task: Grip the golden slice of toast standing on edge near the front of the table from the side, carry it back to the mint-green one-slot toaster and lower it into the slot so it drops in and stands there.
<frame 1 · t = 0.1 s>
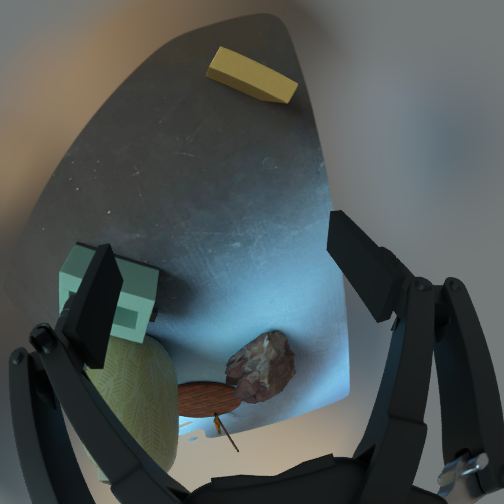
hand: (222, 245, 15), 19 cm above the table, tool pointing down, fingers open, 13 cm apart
toast: (237, 81, 26), on the table
toaster: (112, 278, 36), on the table
incense holder: (209, 405, 63), on the table
vase: (134, 351, 46), on the table
mineral specimen: (252, 348, 51), on the table
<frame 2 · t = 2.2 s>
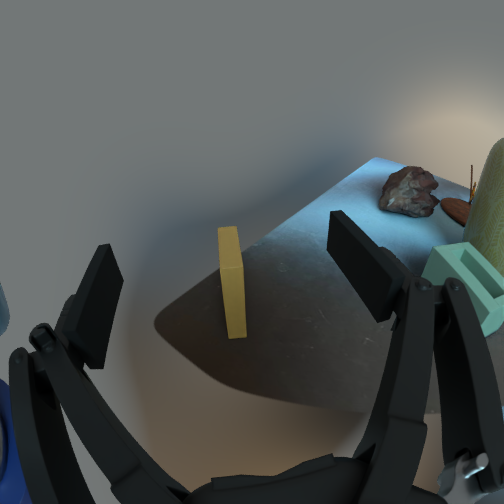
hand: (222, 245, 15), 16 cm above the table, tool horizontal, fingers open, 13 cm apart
toast: (234, 315, 32), on the table
toaster: (458, 309, 30), on the table
incense holder: (470, 211, 57), on the table
vase: (488, 268, 37), on the table
mineral specimen: (406, 214, 54), on the table
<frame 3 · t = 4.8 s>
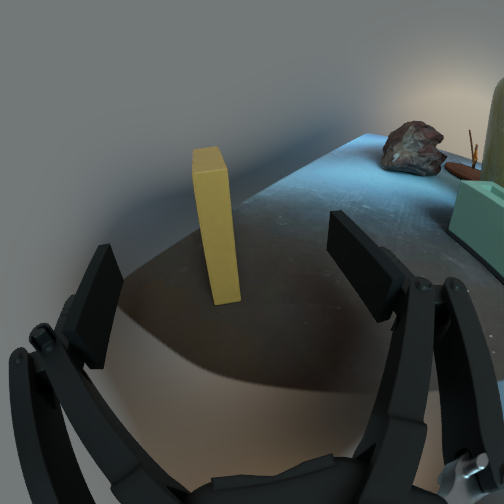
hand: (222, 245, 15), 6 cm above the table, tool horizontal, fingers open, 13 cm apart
toast: (222, 275, 23), on the table
toaster: (497, 256, 22), on the table
incense holder: (475, 175, 50), on the table
mineral specimen: (413, 173, 46), on the table
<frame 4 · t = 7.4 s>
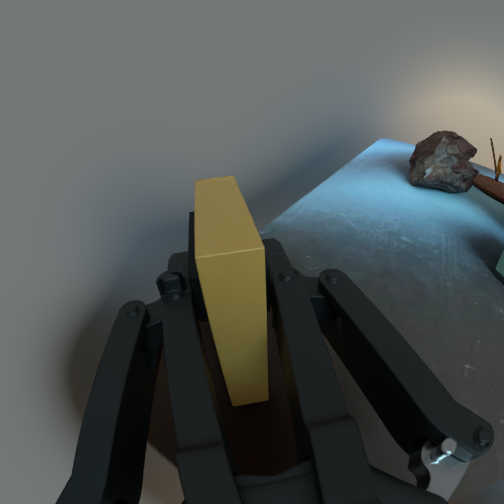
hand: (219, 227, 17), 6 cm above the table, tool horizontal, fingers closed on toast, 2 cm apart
toast: (240, 355, 16), on the table, touching gripper
incense holder: (498, 188, 43), on the table
mineral specimen: (442, 190, 39), on the table
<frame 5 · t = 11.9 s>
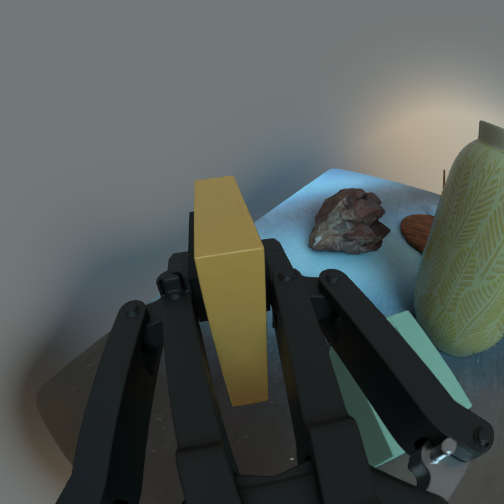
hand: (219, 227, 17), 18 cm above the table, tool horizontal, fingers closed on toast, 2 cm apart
toast: (240, 355, 16), point 12 cm above the table, touching gripper
toaster: (381, 405, 22), on the table
incense holder: (440, 231, 51), on the table
vase: (452, 322, 30), on the table
mineral specimen: (346, 249, 47), on the table
when the fingers open (9 cm above the table, at t = 16.5 s): toast drops 2 cm, resting on toaster.
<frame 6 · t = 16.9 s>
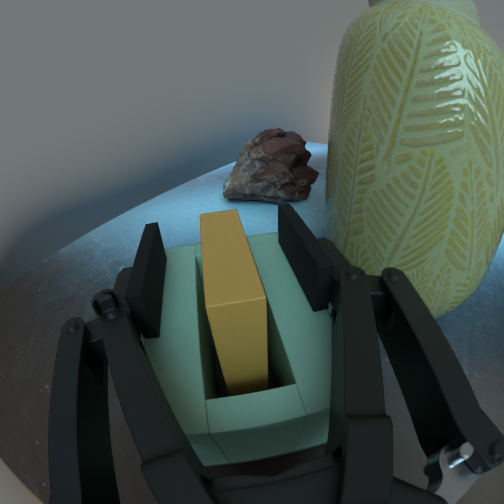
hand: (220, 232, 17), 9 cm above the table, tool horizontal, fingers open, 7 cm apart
toast: (242, 370, 17), point 1 cm above the table, touching toaster
toaster: (243, 374, 17), on the table
vase: (397, 277, 25), on the table
mineral specimen: (271, 200, 42), on the table
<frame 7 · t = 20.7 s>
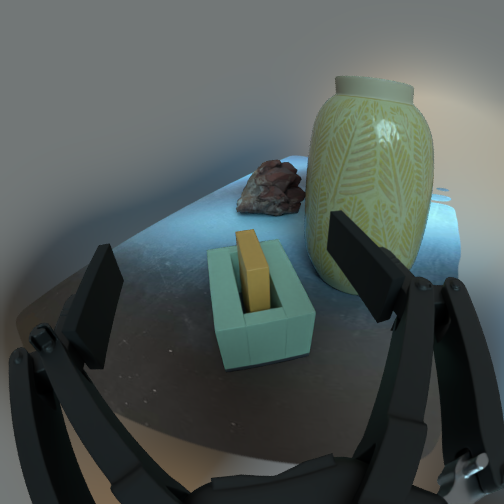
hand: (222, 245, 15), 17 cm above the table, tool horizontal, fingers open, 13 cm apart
toast: (255, 318, 32), point 1 cm above the table, touching toaster
toaster: (256, 321, 32), on the table
vase: (357, 268, 39), on the table
mineral specimen: (272, 213, 56), on the table
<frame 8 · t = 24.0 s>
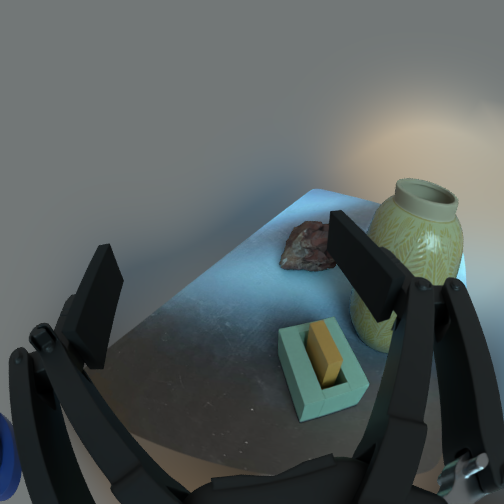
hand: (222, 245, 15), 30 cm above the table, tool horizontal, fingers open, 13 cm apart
toast: (316, 378, 38), point 1 cm above the table, touching toaster
toaster: (315, 380, 38), on the table
vase: (386, 326, 45), on the table
mineral specimen: (310, 266, 62), on the table
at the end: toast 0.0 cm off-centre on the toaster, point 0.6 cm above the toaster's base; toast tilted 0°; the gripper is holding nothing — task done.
